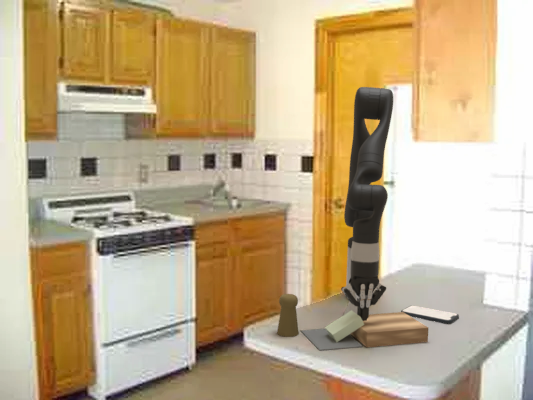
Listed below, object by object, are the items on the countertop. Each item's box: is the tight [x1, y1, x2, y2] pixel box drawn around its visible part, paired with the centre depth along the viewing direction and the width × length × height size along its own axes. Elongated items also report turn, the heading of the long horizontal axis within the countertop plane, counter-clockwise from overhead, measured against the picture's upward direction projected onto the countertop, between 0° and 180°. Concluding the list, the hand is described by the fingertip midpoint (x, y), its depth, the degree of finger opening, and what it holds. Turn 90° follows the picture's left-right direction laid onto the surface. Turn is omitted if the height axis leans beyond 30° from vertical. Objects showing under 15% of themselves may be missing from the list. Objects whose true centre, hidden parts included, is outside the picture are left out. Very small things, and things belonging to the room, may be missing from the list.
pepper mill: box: [277, 293, 300, 338], centre depth 164 cm, size 6×6×11 cm
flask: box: [343, 289, 357, 315], centre depth 181 cm, size 7×7×10 cm
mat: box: [300, 328, 364, 352], centre depth 161 cm, size 15×12×1 cm
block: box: [324, 310, 364, 342], centre depth 161 cm, size 6×9×2 cm, turn 106°
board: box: [350, 311, 429, 348], centre depth 164 cm, size 14×18×4 cm
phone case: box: [400, 305, 460, 325], centre depth 183 cm, size 9×2×16 cm
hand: (362, 319), depth 162 cm, fingers closed
